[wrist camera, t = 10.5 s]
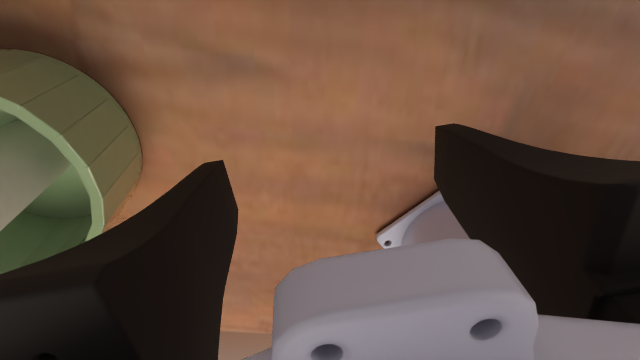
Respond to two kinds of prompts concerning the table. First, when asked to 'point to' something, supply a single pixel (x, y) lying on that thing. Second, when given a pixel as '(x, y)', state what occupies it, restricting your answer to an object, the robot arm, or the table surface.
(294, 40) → the table surface
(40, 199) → the holder
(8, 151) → the white canister
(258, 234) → the table surface
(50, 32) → the table surface
